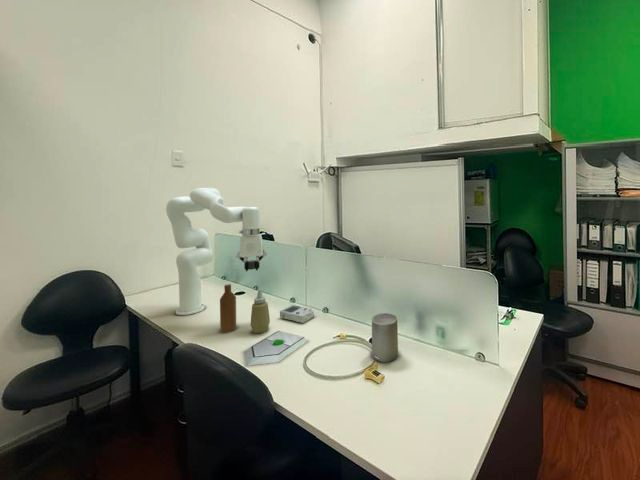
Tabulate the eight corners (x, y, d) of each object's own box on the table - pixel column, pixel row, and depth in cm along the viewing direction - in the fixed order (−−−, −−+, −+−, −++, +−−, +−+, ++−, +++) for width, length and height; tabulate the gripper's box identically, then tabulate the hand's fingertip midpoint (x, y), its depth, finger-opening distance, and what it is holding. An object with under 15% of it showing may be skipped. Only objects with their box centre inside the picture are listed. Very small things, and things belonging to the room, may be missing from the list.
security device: (230, 360, 108) (230, 354, 108) (276, 333, 129) (276, 328, 129) (264, 372, 101) (264, 366, 101) (307, 341, 121) (307, 336, 121)
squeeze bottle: (263, 335, 127) (262, 293, 127) (246, 334, 128) (245, 292, 128) (273, 327, 135) (273, 287, 134) (257, 325, 136) (257, 286, 136)
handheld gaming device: (302, 324, 137) (302, 315, 137) (279, 318, 144) (279, 310, 144) (315, 317, 145) (315, 309, 145) (292, 311, 152) (292, 304, 152)
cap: (246, 268, 144) (246, 261, 144) (254, 267, 146) (254, 259, 146) (249, 270, 141) (248, 262, 141) (257, 268, 143) (257, 261, 143)
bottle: (222, 327, 135) (221, 283, 135) (237, 325, 137) (236, 282, 137) (218, 333, 129) (218, 288, 129) (234, 331, 131) (234, 286, 131)
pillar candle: (394, 346, 116) (394, 308, 116) (400, 361, 106) (399, 319, 106) (370, 349, 114) (369, 310, 114) (373, 364, 105) (373, 321, 104)
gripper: (230, 234, 137) (231, 273, 137) (268, 232, 142) (269, 270, 142) (233, 232, 145) (234, 269, 145) (270, 230, 149) (271, 266, 149)
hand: (252, 269), depth 143 cm, fingers closed on cap, 3 cm apart
